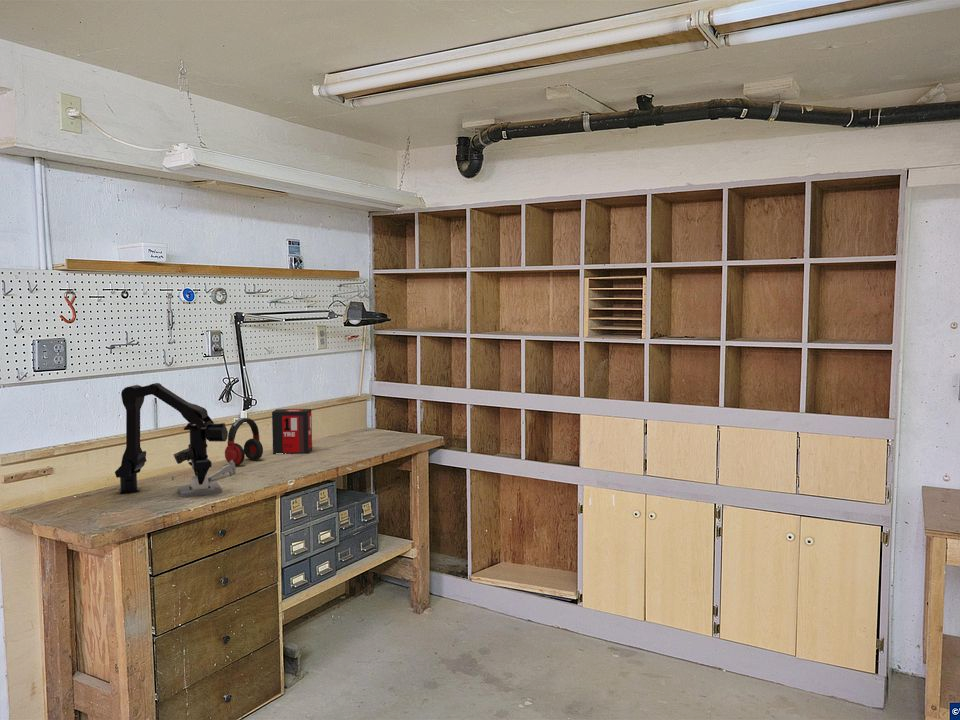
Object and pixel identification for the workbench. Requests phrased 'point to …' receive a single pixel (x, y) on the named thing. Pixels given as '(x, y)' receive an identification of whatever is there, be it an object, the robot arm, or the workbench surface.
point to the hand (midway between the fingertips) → (199, 482)
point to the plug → (196, 485)
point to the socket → (187, 492)
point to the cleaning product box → (292, 431)
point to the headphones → (251, 446)
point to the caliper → (225, 470)
